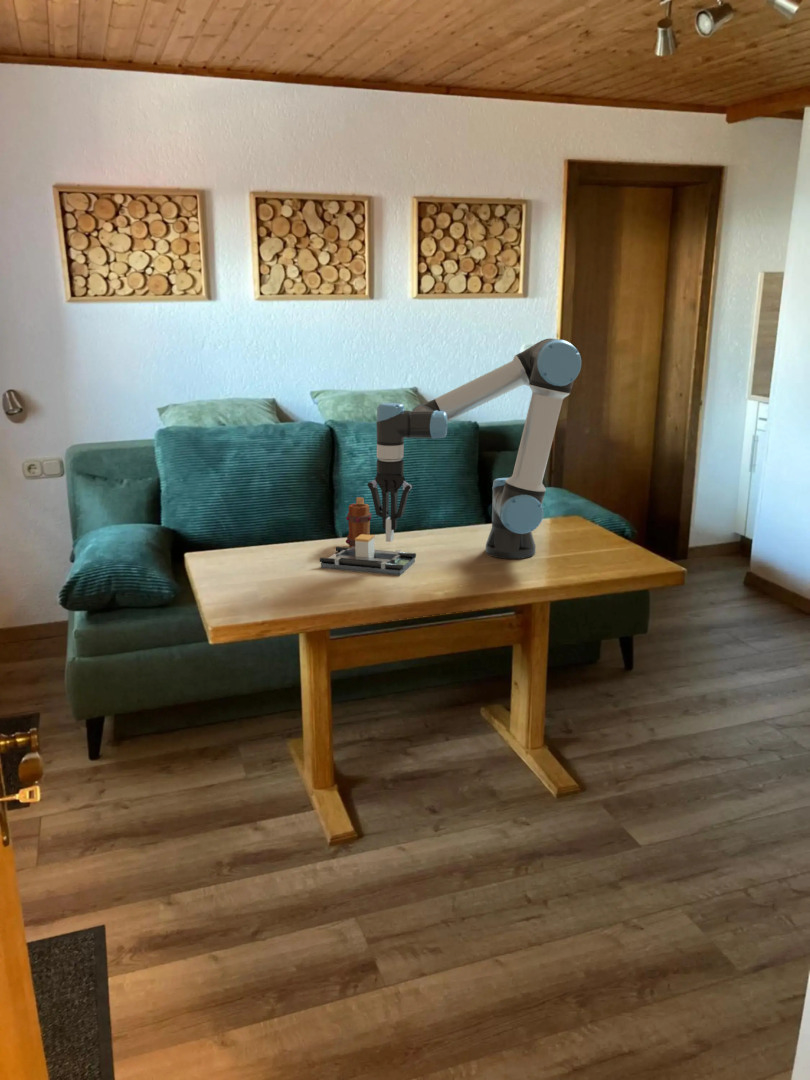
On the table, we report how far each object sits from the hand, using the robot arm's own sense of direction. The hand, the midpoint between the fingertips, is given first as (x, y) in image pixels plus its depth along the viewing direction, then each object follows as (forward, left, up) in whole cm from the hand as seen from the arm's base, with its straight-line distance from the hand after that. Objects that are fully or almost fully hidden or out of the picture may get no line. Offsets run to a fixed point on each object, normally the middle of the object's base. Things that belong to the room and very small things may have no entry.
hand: (389, 540), depth 245 cm
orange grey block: (+8, 0, -7) cm, 10 cm away
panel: (+7, 0, -8) cm, 10 cm away
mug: (+16, -17, -8) cm, 25 cm away
